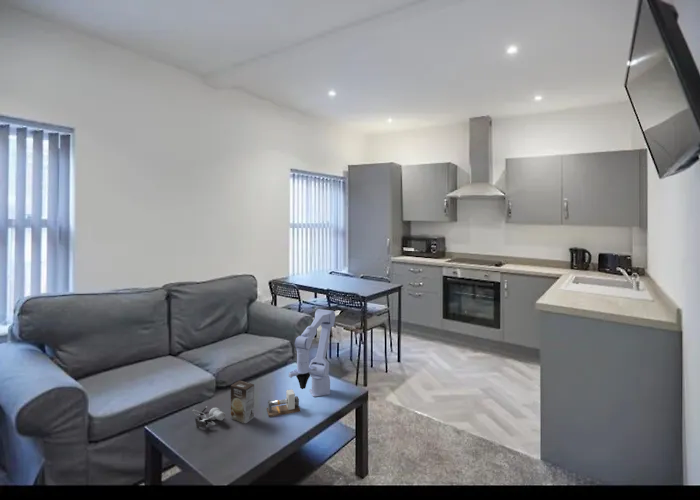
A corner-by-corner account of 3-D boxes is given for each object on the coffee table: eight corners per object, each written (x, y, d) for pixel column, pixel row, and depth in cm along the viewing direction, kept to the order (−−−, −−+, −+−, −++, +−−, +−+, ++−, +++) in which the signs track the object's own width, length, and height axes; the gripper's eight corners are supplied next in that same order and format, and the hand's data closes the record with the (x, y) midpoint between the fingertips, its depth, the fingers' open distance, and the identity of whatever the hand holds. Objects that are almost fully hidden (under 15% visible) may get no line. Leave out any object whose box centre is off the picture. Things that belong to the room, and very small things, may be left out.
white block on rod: (292, 403, 184) (292, 389, 184) (294, 408, 180) (294, 393, 179) (286, 404, 183) (286, 390, 183) (288, 409, 179) (288, 394, 178)
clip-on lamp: (188, 424, 173) (203, 432, 160) (185, 411, 173) (200, 417, 160) (212, 413, 181) (229, 419, 168) (210, 400, 181) (226, 405, 168)
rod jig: (297, 404, 186) (297, 393, 186) (300, 411, 180) (300, 400, 179) (266, 409, 181) (266, 398, 181) (268, 417, 174) (268, 405, 174)
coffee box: (229, 419, 172) (229, 385, 171) (239, 412, 178) (239, 379, 177) (245, 424, 168) (245, 389, 167) (255, 417, 174) (254, 383, 173)
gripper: (311, 355, 189) (311, 381, 190) (285, 361, 180) (285, 388, 182) (319, 359, 184) (318, 386, 185) (292, 366, 175) (292, 394, 176)
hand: (302, 388), depth 183 cm, fingers closed
